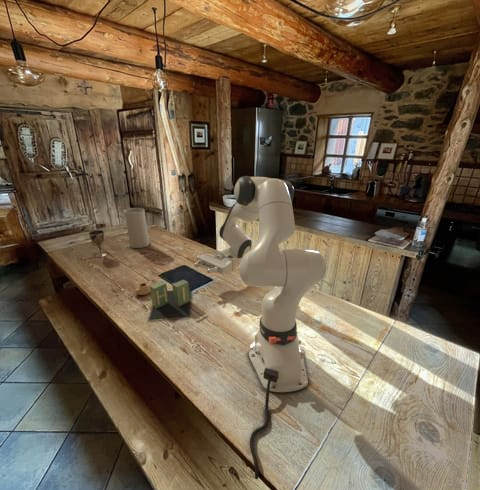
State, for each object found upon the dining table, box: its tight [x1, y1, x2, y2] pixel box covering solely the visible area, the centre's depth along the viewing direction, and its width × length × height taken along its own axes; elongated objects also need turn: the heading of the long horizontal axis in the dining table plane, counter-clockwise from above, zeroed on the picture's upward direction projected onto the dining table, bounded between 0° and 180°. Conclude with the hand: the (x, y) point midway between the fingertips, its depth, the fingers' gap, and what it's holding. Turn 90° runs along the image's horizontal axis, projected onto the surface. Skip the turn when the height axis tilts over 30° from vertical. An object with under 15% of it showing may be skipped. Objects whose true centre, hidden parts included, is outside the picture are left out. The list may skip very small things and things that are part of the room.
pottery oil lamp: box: [132, 279, 158, 296], centre depth 128 cm, size 9×12×7 cm
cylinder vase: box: [123, 207, 150, 249], centre depth 180 cm, size 12×12×25 cm
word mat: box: [149, 289, 192, 321], centre depth 120 cm, size 22×16×1 cm
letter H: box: [150, 280, 169, 308], centre depth 117 cm, size 4×6×10 cm, turn 137°
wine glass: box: [88, 230, 108, 258], centre depth 167 cm, size 8×8×15 cm
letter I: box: [171, 279, 191, 306], centre depth 118 cm, size 4×6×10 cm, turn 137°
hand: (201, 268), depth 123 cm, fingers open, 8 cm apart
